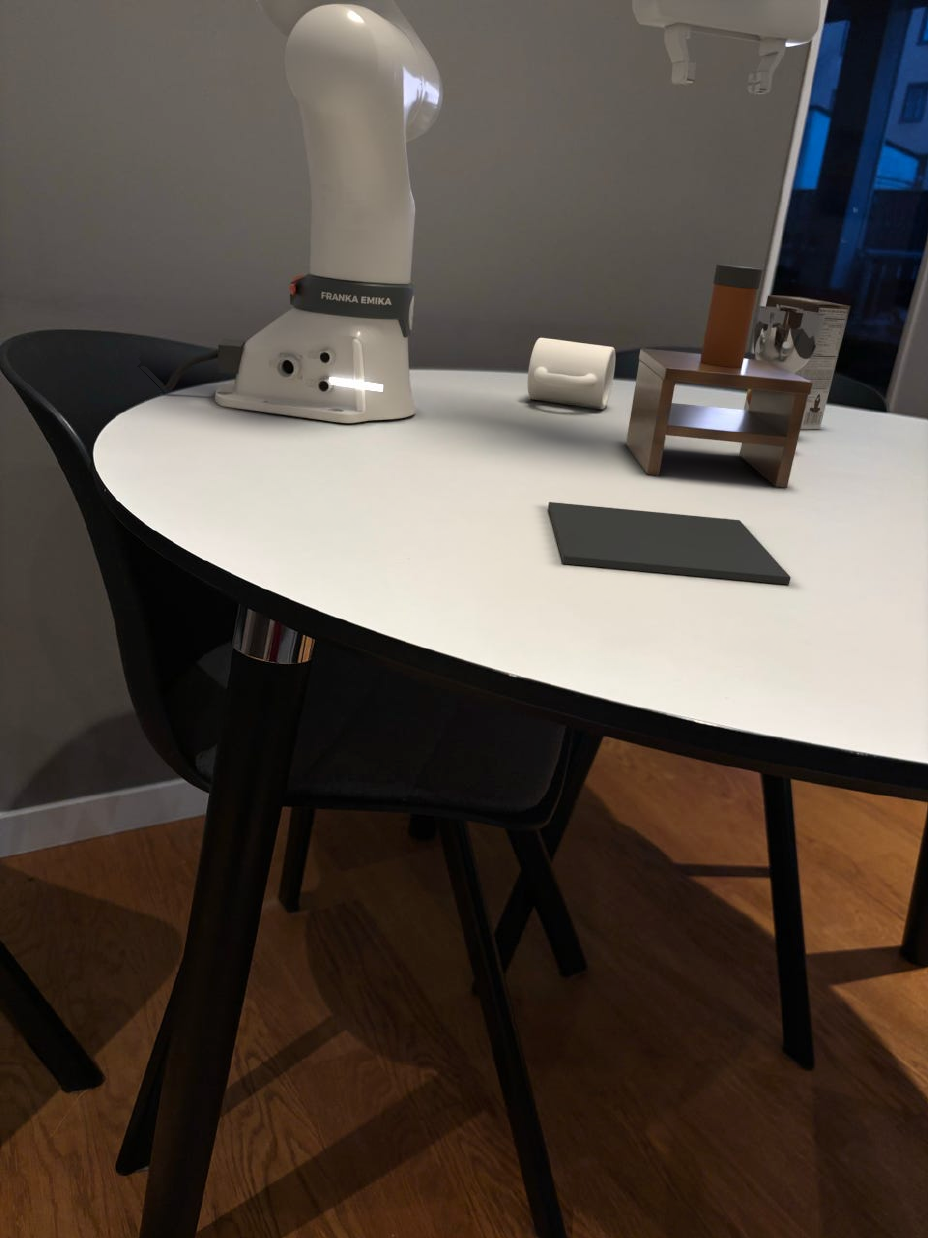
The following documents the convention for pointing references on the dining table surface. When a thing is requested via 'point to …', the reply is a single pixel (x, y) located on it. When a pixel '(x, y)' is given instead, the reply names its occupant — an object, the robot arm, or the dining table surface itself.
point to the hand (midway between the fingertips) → (721, 88)
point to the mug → (571, 373)
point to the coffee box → (816, 353)
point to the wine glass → (786, 336)
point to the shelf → (718, 411)
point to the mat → (662, 543)
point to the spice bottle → (730, 315)
